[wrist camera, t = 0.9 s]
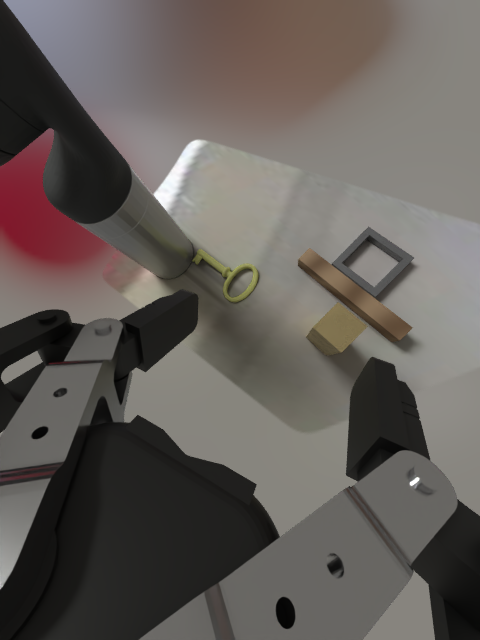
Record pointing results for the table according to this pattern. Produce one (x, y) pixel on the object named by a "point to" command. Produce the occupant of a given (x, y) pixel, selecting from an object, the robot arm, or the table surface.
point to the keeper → (383, 245)
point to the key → (229, 274)
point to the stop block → (336, 330)
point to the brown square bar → (354, 296)
